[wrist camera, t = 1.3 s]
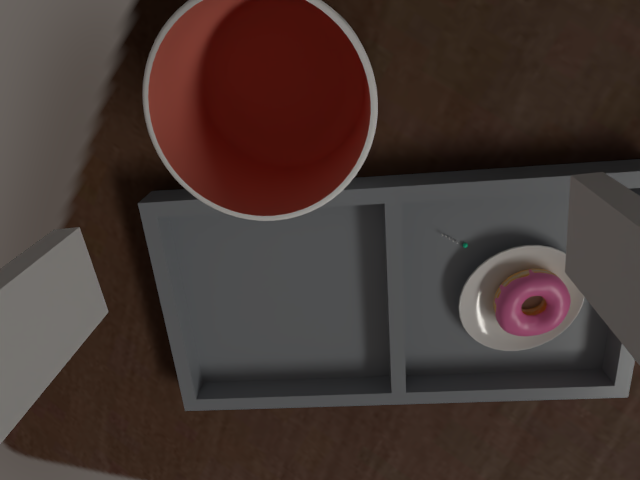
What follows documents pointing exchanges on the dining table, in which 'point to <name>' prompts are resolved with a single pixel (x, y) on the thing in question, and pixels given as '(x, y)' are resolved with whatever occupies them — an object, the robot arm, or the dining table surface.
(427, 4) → the dining table surface
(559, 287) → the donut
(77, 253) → the robot arm
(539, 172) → the carrier tray
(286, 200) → the cup
